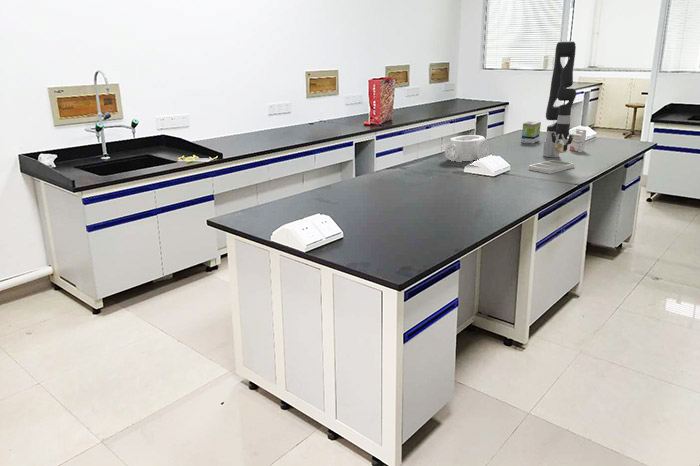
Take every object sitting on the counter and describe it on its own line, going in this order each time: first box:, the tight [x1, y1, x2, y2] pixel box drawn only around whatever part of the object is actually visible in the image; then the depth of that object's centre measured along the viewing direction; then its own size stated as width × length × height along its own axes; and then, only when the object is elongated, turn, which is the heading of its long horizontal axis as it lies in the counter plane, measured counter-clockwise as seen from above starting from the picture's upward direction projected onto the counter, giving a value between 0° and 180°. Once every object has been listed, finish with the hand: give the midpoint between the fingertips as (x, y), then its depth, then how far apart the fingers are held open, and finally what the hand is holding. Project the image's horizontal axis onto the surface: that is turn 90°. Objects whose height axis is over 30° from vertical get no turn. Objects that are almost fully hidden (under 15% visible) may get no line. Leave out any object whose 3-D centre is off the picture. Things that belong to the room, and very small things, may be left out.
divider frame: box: [528, 159, 576, 175], centre depth 332 cm, size 15×25×2 cm, turn 127°
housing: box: [444, 134, 490, 163], centre depth 363 cm, size 35×22×14 cm, turn 134°
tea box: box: [520, 121, 542, 144], centre depth 417 cm, size 15×10×15 cm, turn 147°
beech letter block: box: [555, 142, 568, 154], centre depth 333 cm, size 5×5×5 cm
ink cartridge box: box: [569, 128, 587, 153], centre depth 379 cm, size 9×5×15 cm, turn 34°
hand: (560, 150), depth 333 cm, fingers closed on beech letter block, 5 cm apart
